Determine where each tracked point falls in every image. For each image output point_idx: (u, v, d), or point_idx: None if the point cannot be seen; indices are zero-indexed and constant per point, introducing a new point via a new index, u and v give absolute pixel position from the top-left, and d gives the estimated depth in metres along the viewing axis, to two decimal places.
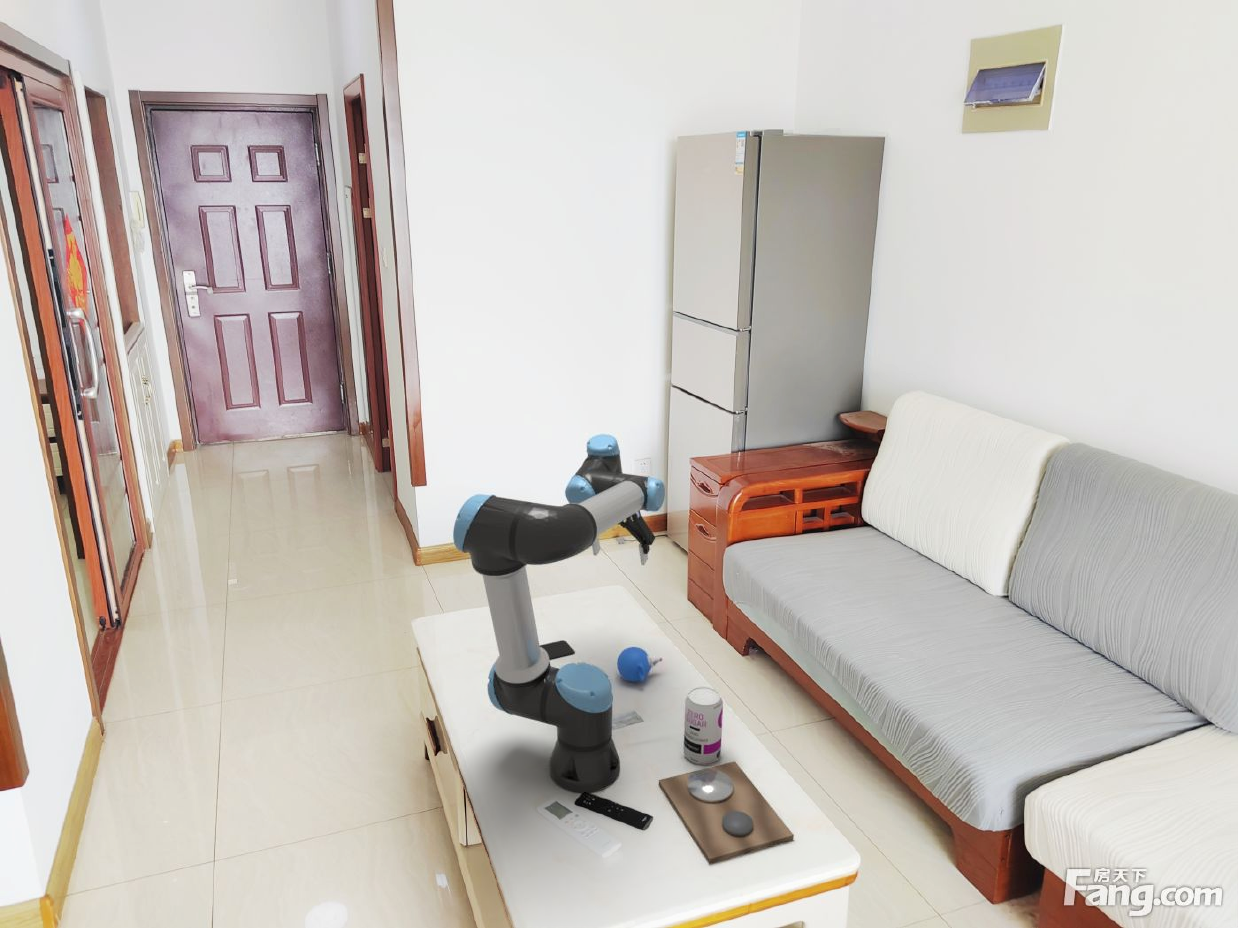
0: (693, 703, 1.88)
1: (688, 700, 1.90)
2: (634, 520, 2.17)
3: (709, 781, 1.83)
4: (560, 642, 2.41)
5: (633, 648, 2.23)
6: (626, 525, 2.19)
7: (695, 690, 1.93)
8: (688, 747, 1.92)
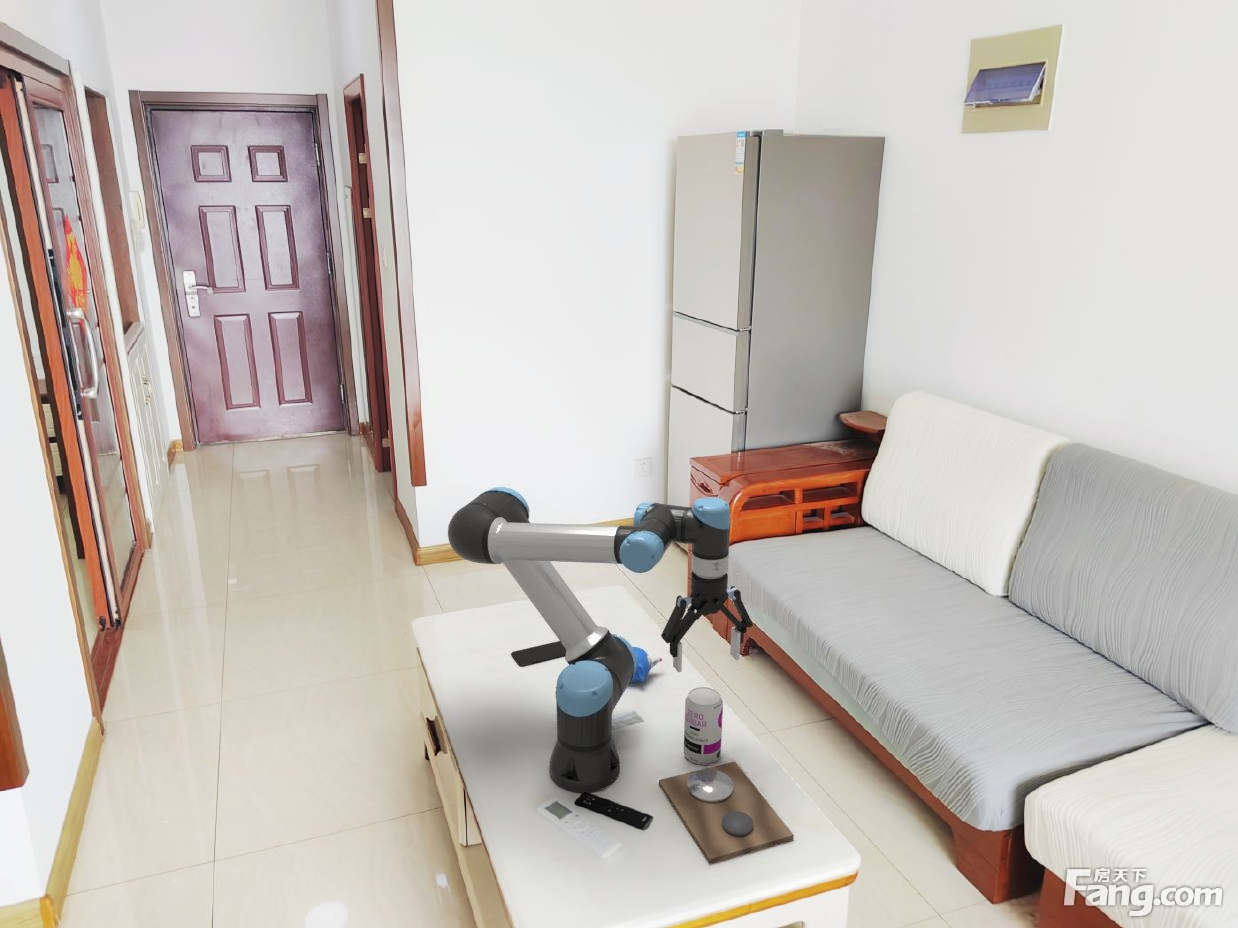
0: (693, 703, 1.88)
1: (688, 700, 1.90)
2: None
3: (709, 781, 1.83)
4: (560, 642, 2.41)
5: (633, 648, 2.23)
6: (688, 610, 1.84)
7: (695, 690, 1.93)
8: (689, 747, 1.92)
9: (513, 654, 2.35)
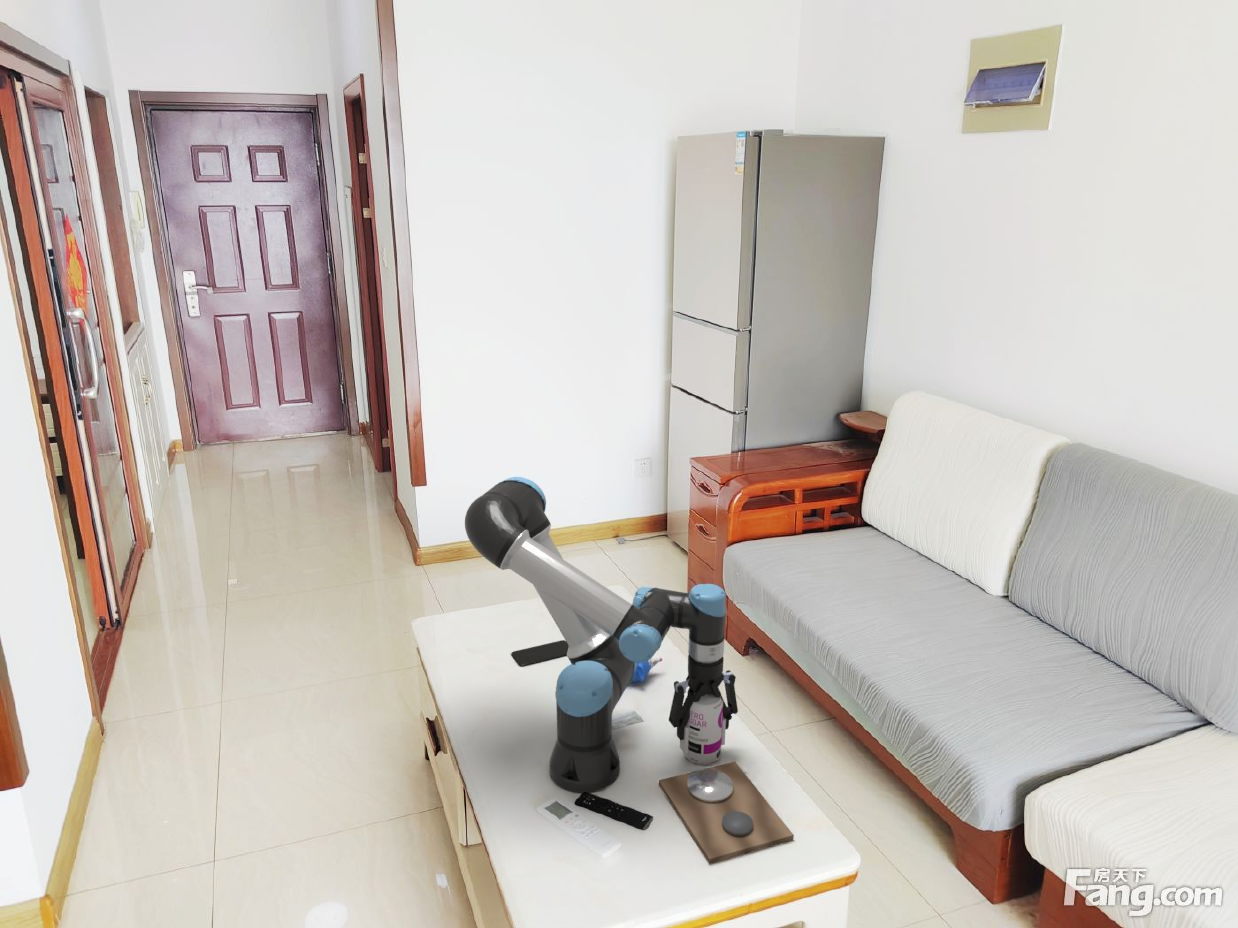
0: (693, 703, 1.88)
1: None
2: None
3: (709, 781, 1.83)
4: (560, 642, 2.41)
5: None
6: (688, 692, 1.91)
7: None
8: (688, 747, 1.92)
9: (513, 654, 2.35)
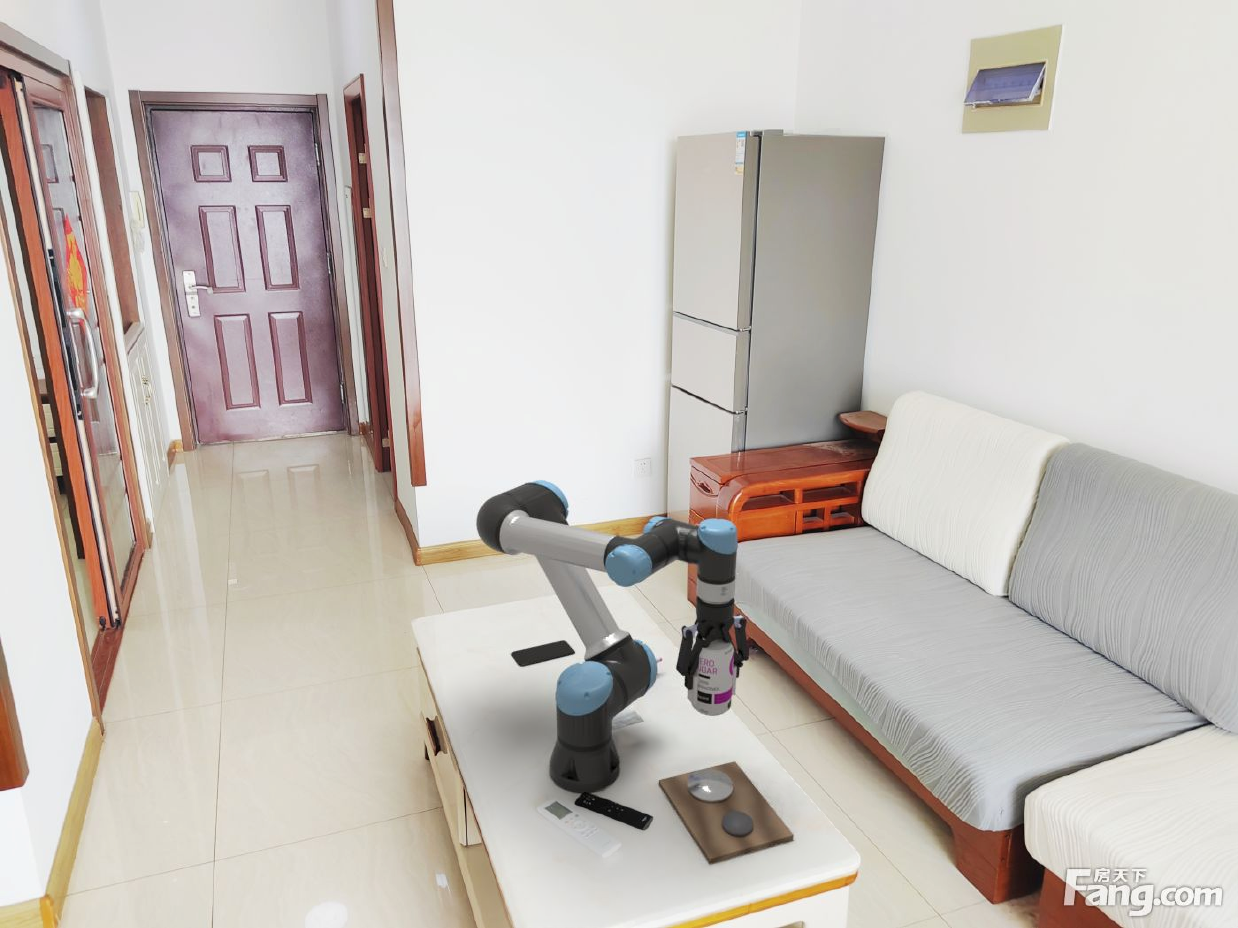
0: (702, 649, 1.75)
1: None
2: None
3: (709, 781, 1.83)
4: (561, 642, 2.41)
5: None
6: (696, 638, 1.77)
7: None
8: (698, 697, 1.78)
9: (513, 654, 2.35)
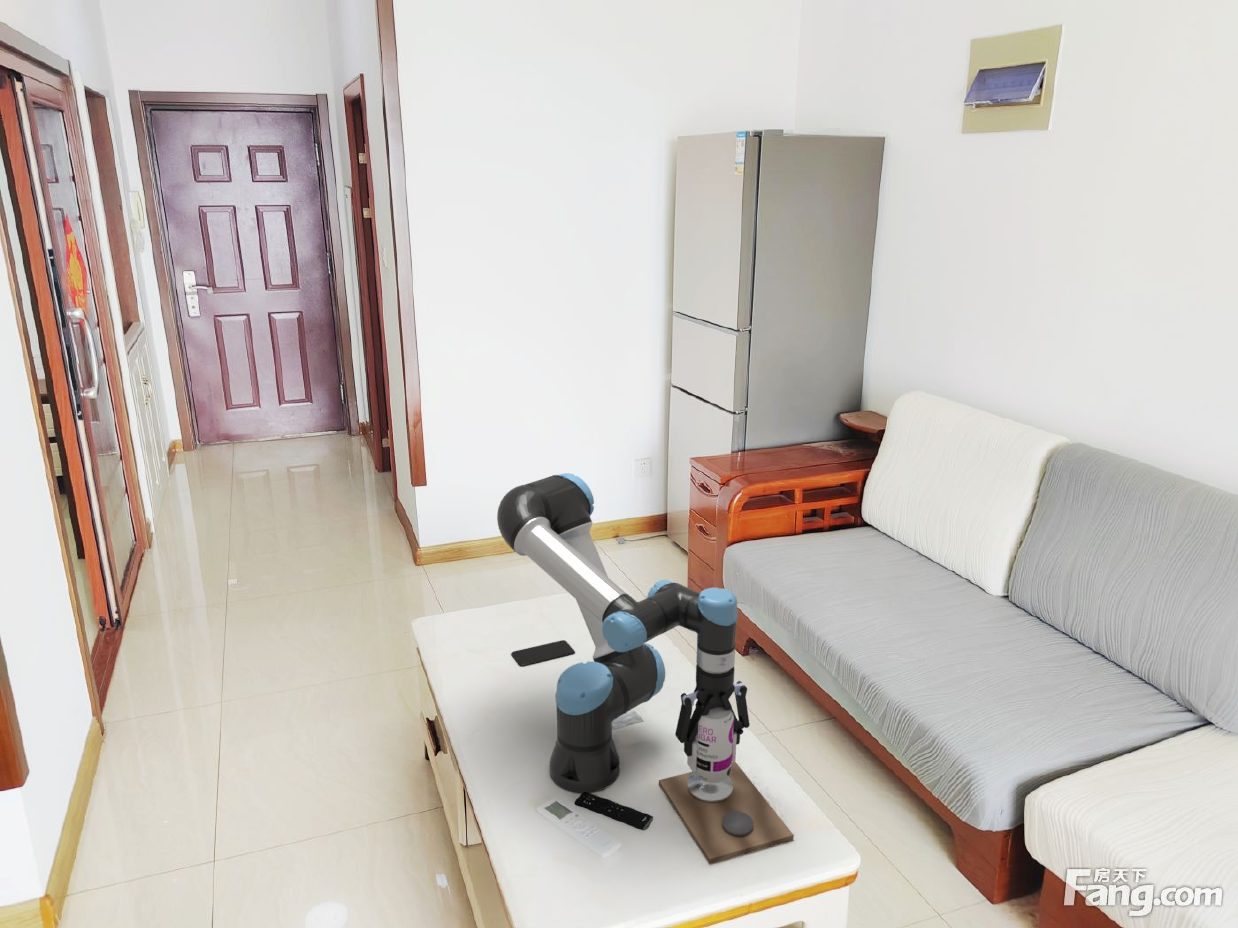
0: (702, 717, 1.75)
1: None
2: None
3: None
4: (561, 642, 2.41)
5: None
6: (696, 705, 1.77)
7: None
8: (697, 764, 1.78)
9: (513, 654, 2.35)
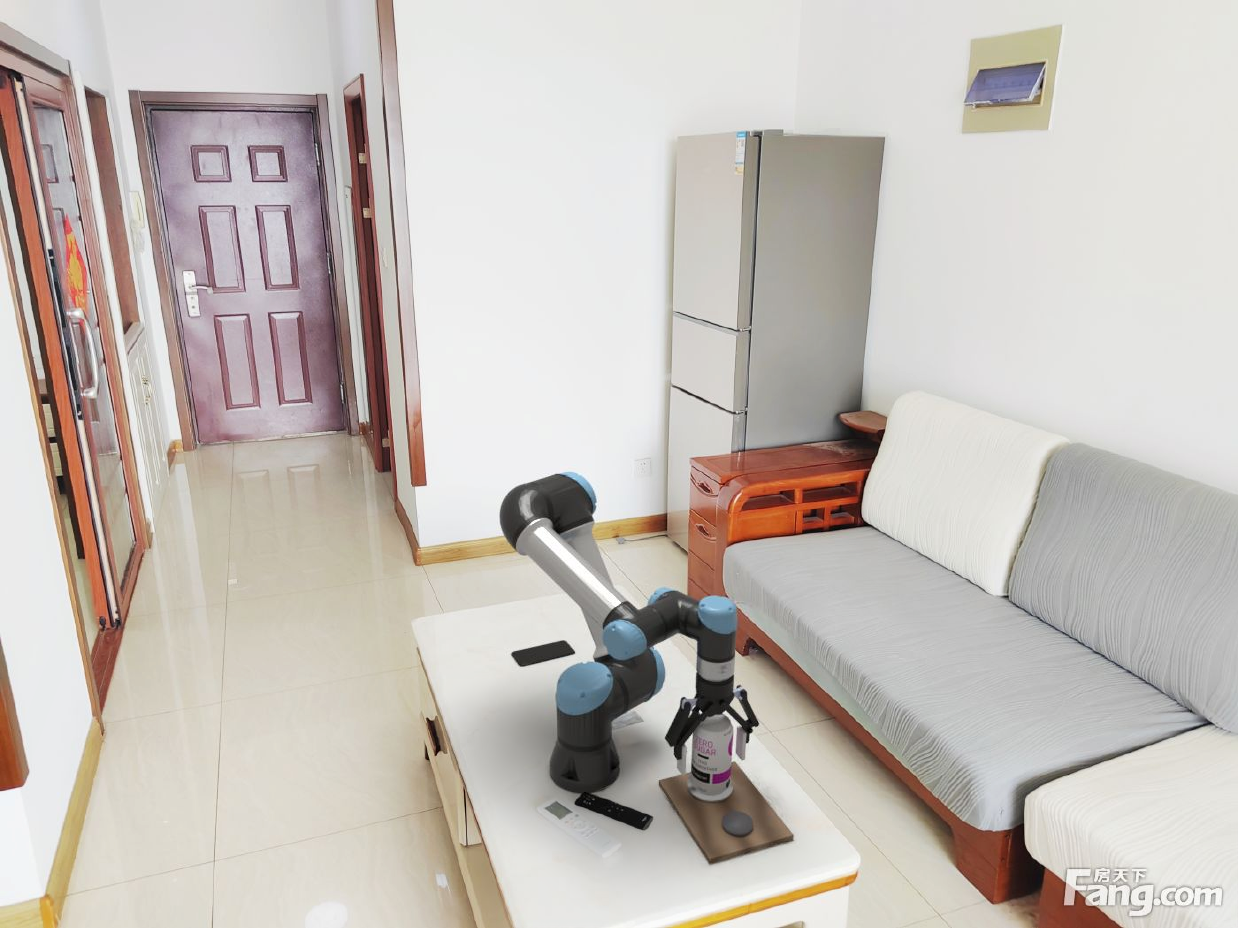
0: (702, 729, 1.76)
1: None
2: None
3: None
4: (561, 642, 2.41)
5: None
6: (693, 710, 1.77)
7: None
8: (696, 776, 1.79)
9: (513, 654, 2.35)
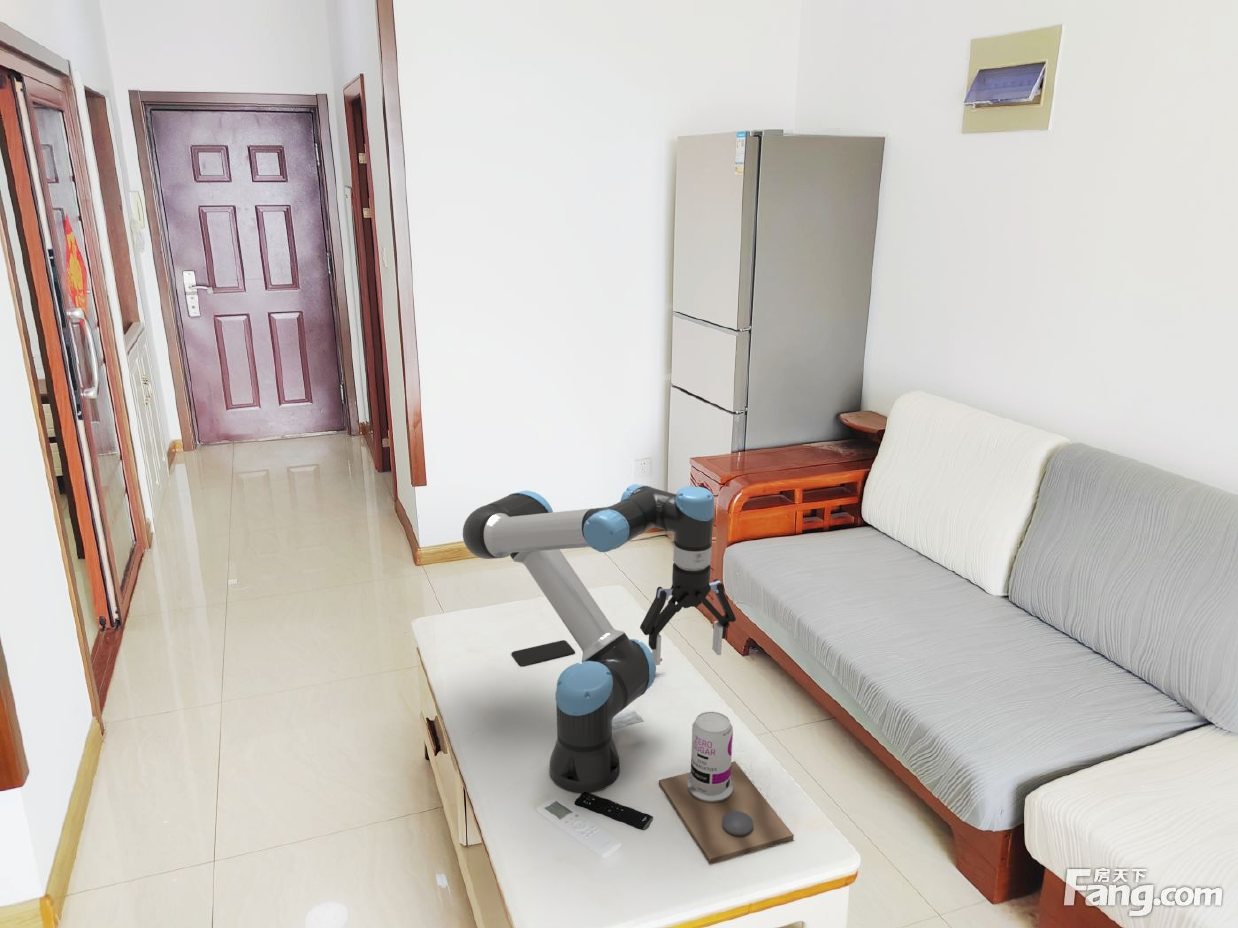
0: (701, 729, 1.76)
1: (695, 726, 1.77)
2: None
3: None
4: (561, 642, 2.41)
5: None
6: (669, 601, 1.79)
7: (703, 715, 1.80)
8: (696, 776, 1.79)
9: (513, 654, 2.35)
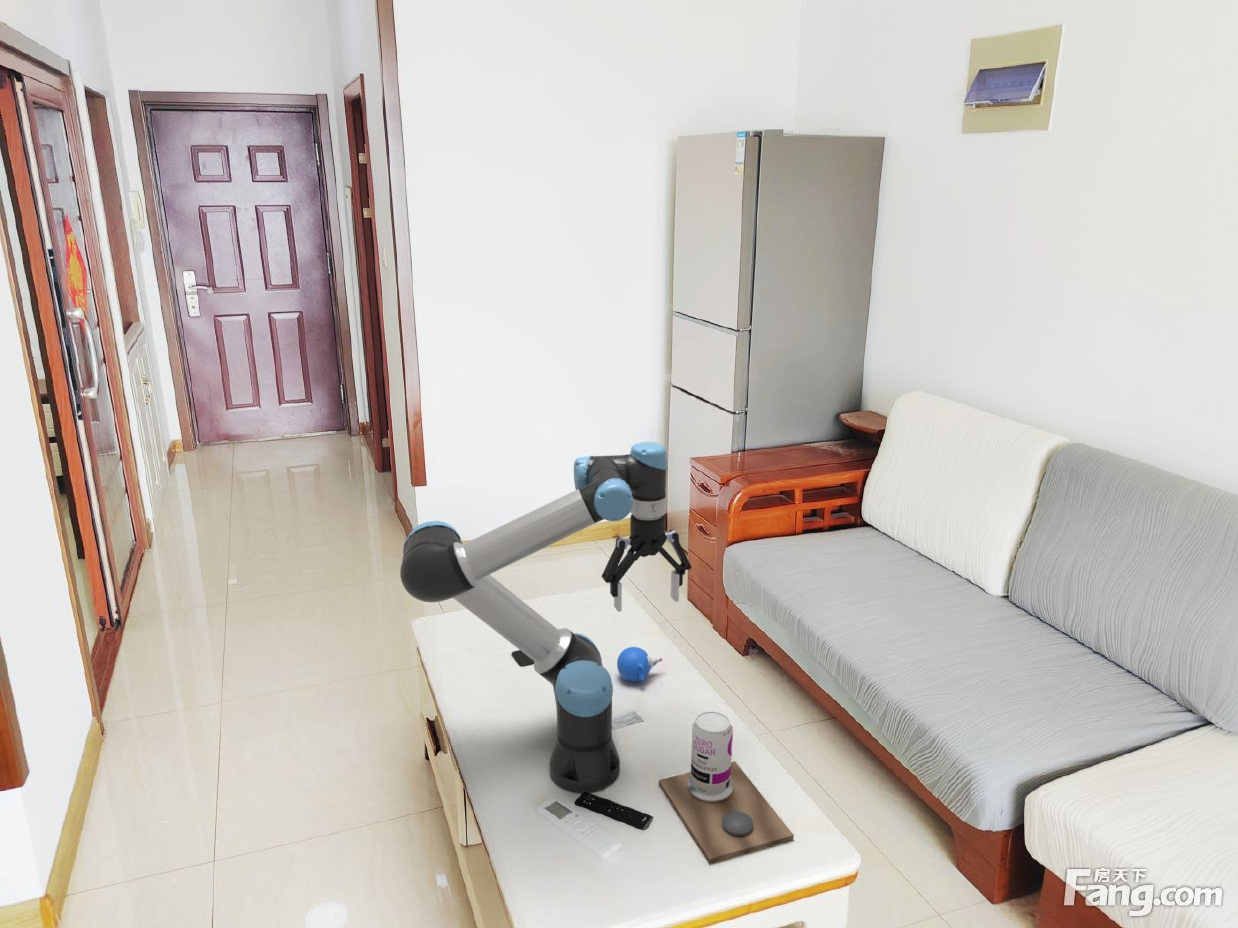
0: (701, 729, 1.76)
1: (695, 726, 1.77)
2: None
3: None
4: None
5: (633, 648, 2.23)
6: (628, 551, 1.91)
7: (703, 715, 1.80)
8: (696, 776, 1.79)
9: (513, 654, 2.35)
